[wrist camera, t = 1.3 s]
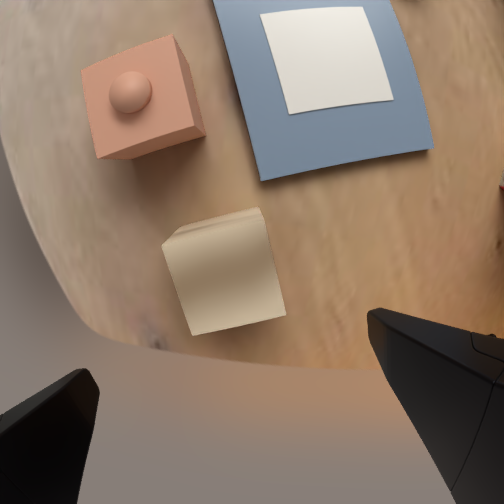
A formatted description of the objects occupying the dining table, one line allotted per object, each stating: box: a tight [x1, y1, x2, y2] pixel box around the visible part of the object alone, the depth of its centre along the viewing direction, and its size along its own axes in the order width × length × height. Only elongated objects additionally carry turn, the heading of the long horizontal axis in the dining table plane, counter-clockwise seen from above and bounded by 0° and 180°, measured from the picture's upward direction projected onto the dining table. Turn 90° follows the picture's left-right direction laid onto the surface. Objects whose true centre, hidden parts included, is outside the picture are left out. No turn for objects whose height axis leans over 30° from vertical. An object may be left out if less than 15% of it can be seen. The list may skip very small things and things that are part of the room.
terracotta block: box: [81, 34, 206, 159], centre depth 15 cm, size 5×5×6 cm
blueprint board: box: [213, 0, 434, 181], centre depth 16 cm, size 14×12×1 cm
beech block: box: [162, 207, 286, 336], centre depth 18 cm, size 5×5×5 cm
